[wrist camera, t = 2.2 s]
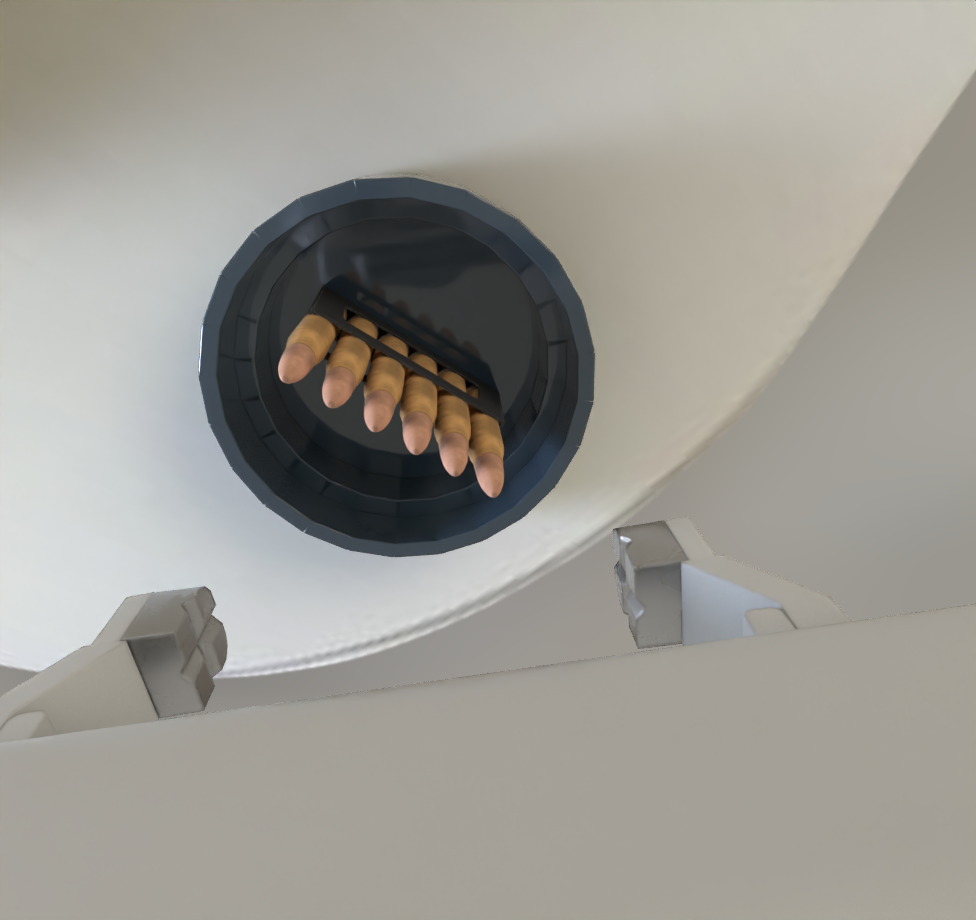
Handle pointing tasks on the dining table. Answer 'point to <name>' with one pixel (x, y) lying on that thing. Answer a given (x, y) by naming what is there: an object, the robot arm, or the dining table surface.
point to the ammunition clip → (400, 385)
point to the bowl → (401, 304)
